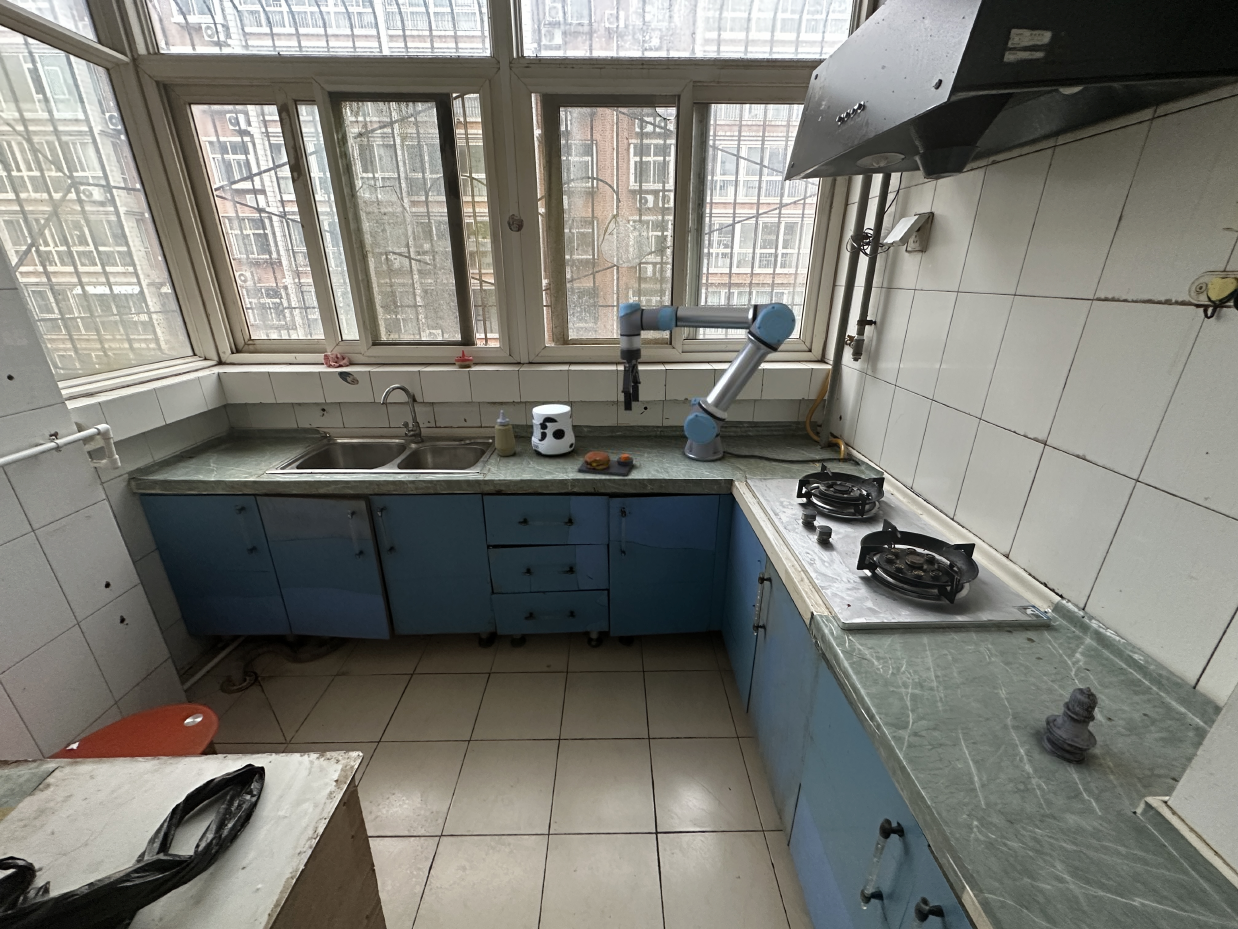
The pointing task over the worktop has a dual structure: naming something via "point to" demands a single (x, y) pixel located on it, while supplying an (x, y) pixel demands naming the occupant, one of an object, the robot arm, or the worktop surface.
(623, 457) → the tare button
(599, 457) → the burger
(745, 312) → the robot arm
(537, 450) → the milk container
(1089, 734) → the dark grey chess piece
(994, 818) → the worktop surface
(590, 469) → the scale
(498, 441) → the squeeze bottle
